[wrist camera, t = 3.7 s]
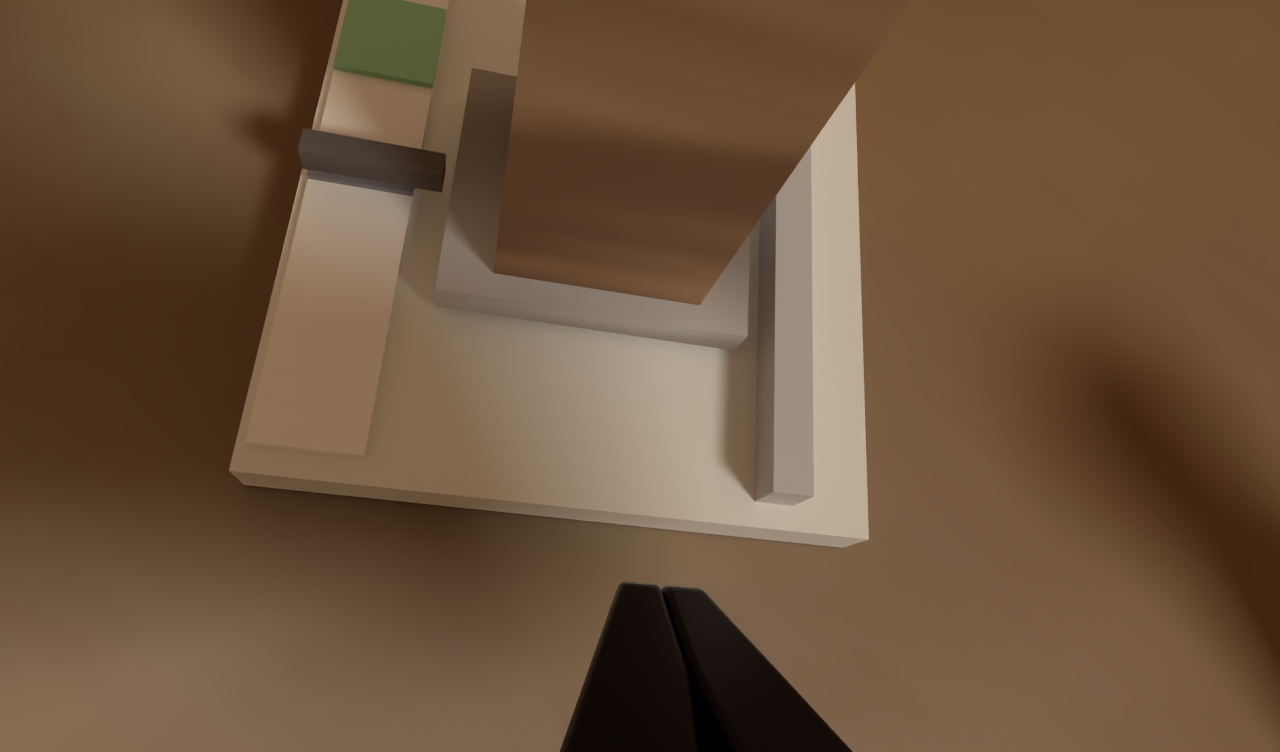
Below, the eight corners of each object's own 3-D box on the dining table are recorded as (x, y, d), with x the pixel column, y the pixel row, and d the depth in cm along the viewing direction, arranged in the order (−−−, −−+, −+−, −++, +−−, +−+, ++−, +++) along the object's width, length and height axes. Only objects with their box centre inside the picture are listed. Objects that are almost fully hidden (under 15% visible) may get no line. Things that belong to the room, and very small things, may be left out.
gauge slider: (734, 350, 17) (1145, -103, 7) (281, 284, 15) (-24, -428, 5) (740, 144, 19) (1076, -454, 9) (333, 66, 17) (175, -777, 7)
